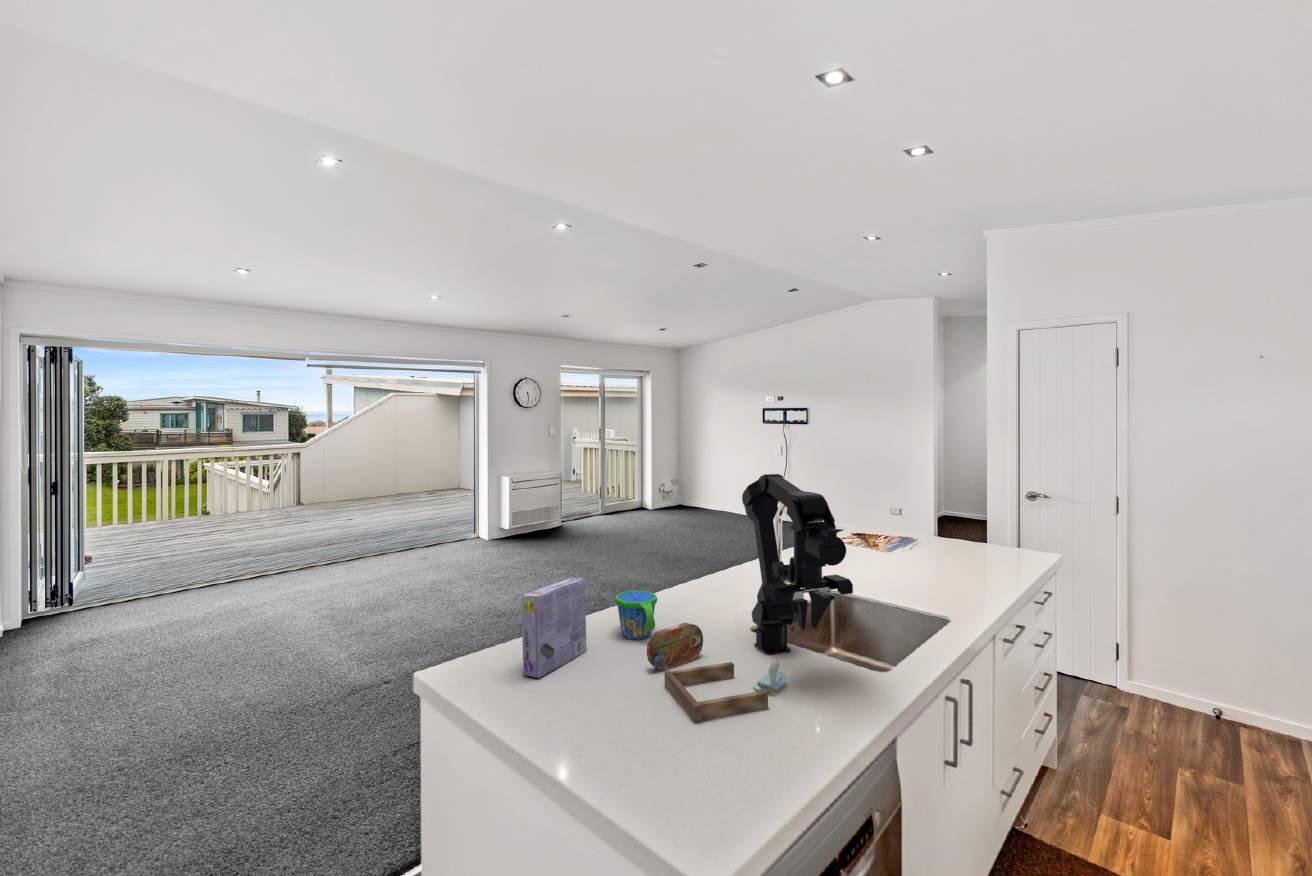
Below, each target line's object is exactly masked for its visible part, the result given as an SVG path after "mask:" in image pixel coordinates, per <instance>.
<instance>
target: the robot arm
mask: <svg viewBox="0 0 1312 876" xmlns="http://www.w3.org/2000/svg"><path fill="white" fill-rule="evenodd" d="M741 501H742V504H743V506H744V511H745V513H746V516H747V517H748V518H749V519H750V521H751V522H752V523H753V525H754V527H753V528H754V533H755V541H756V547H757V555H758V562H759V570H760V577H761V585H760V587H759V588H758V591H757V595H756V596H757V597H756V599H757V602H756V604H755V605H754V606H753V607H754V608H753V609H752V611H751V618H752V623H754V624H755V625H757V628H756V629H755V634H756V635H755V637H756V639H755V641H756V642H754V646H755V647H756V648H757V649H759V650H760V651H762V652H763V653H764V654H766V655H773V654H781V653H785V652H791V651H792V648H790V647H789V646H788V625H794V619H796V622H797V625H798V627H799V629H800V630H801V631H804V630H805V629H806V628H805V627H806V624H807V623H806V622H807V614H808V606H809V605H808V604H809V603H808V602H809V601H808V600H807V599H805V597H804V594H805V593H808V595H809V598H810V601H811V602H810V607H811V608H810V612H811V613H810V621H811V627H812V628H813V629H817V627H819V626H818V625H819V624H820V622H821V619H822V618H823V615H824V614H825V612H826V610H827V609H828V607H829V606H830V603H831V602H832V601H834V600H836V596H835V595H833V594H832V590H837V592H838V593H839V594H840V595H842V596H844V595H851V594H853V593H854V584H853V582H852V580H850V579H849V578H847V577H844V576H842V575H839V574H830V575H823V567H827V566H833V567H834V566H837V565H839V564H841V563H842V562H843V560H844V559H845V557H846V555H847V547H846V544H845V542H844V541H843V539H841V537H838V536H837V533H838V532H837V530H836V529H837V526H836V524H835V522H836V520H835V517H834V515H833V513H832V511H831V509H830V507H829V503H828V502H827V500H826V498H825V496H824V495H822V494H820V493H817V492H812V491H804V490H802V489H800V488H799V487H797V486H796V485H795V484H793V483H791V482H790V481H789V480H787V479H786V478H784V476H783V475H781V474H779V473H770V474H769V473H768V474H767V473H764V474H763V475H760V477H759V478H758V479H757V480H755V481H754V482H752V483H750V484H749V485H747V487H746V488H745V490H743V492H742V496H741ZM779 503H781V504H782V505H784V506H785V508H786V515H787V516H788V517H789V518H790V520H791V522H792V524H791V526H790V530H791V531H792V530H793V556H791V557H790V558H789V564H784V561H780V558H779V550H778V544H777V543H778V542H777V536H776V530H775V523H774V519H775V517H776V515H777V512H778V510H779ZM826 565H827V566H826ZM786 581H787V582H789V583H793V584H788V583H785V582H786Z"/></svg>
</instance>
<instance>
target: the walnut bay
mask: <svg viewBox="0 0 1312 876" xmlns="http://www.w3.org/2000/svg"><path fill="white" fill-rule="evenodd" d="M663 674H664V688H666V690H667V691H668V692H669V693H670V695H671V696H672V697H673V699H675V701H676V702H677V703H678V705H679V706H680V707H681V708H682V710H684V712H685V713H686V714H687V716H689V718H690V719H691V720H692V722H693V723H694V724H698V723H701V722H703V721H709V720H715V719H719V718H726V717H732V716H737V715H740V714H741V715H743V714H745V713H746V714H747V713H751V712H757V711H763V710H767V709H769V691H765V690H763V691H758V690H756V691H753V692H747V693H742V694H735V695H729V696H724V697H720V698H719V697H718V698H713V699H708V700H703V701H697V699H695V697H694V696H693V695H692V694H691V693H690V692H689V691H688V690H687V688H686V687H687V686H693V685H694V686H695V685H700V684H706V683H712V682H719V681H724V680H730V679H735V663H733V662H732V661H729V662H724V663H723V662H722V663H715V664H711V665H701V666H696V667H691V668H684V669H677V670H672V671H671V670H665V671H664V673H663Z"/></svg>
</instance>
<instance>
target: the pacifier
mask: <svg viewBox="0 0 1312 876" xmlns="http://www.w3.org/2000/svg"><path fill="white" fill-rule="evenodd" d="M779 669H780V662H779V660H778V659H777V658H773V660H772V662H771V663H770V666H769V668H768V673H767V674H765V675H764V676H762V677H761V678H758V679H757V680H755V681H754V682H753V685H752V687H753V688H754V690H756V691H763V690H765V691H767V692H768V693H771V692H775V691H778V690H779V689H780V688H781V687H782V686H784V685H785V684H786V683H787V675H786V673H784V672H783V671H780V670H779ZM759 685H760V686H759ZM763 686H764V687H763Z"/></svg>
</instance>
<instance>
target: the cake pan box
mask: <svg viewBox="0 0 1312 876" xmlns="http://www.w3.org/2000/svg"><path fill="white" fill-rule="evenodd" d="M586 614H587V613H586V579H585V577H584V578H578V577H569V578H567V579H564V580H562V581H561V580H560V581H559V582H555V583H552V584H549V585H547V586H544V587H541V588H539V589H535V590H533V591H530V592H528V593H527V592H526V593H524V594H521V624H522V625H521V626H522V627H521V630H522V633H521V635H522V636H521V637H522V638H521V639H522V670H523V671H522V675H525V676H527V677H531V678H534V679H541V678H543V677H544V676H545V675H547V674H549V673H550V672H553V671H554V670H555V669H557V668H558V669H559V668H561V667H562V666H564V665H566V664H567V663H569V662H570V661H572V660H573V659H575V658H576V657H578V656H581V655H582V654H584V653H586V652H587V620H586V619H587V618H586Z"/></svg>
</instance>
